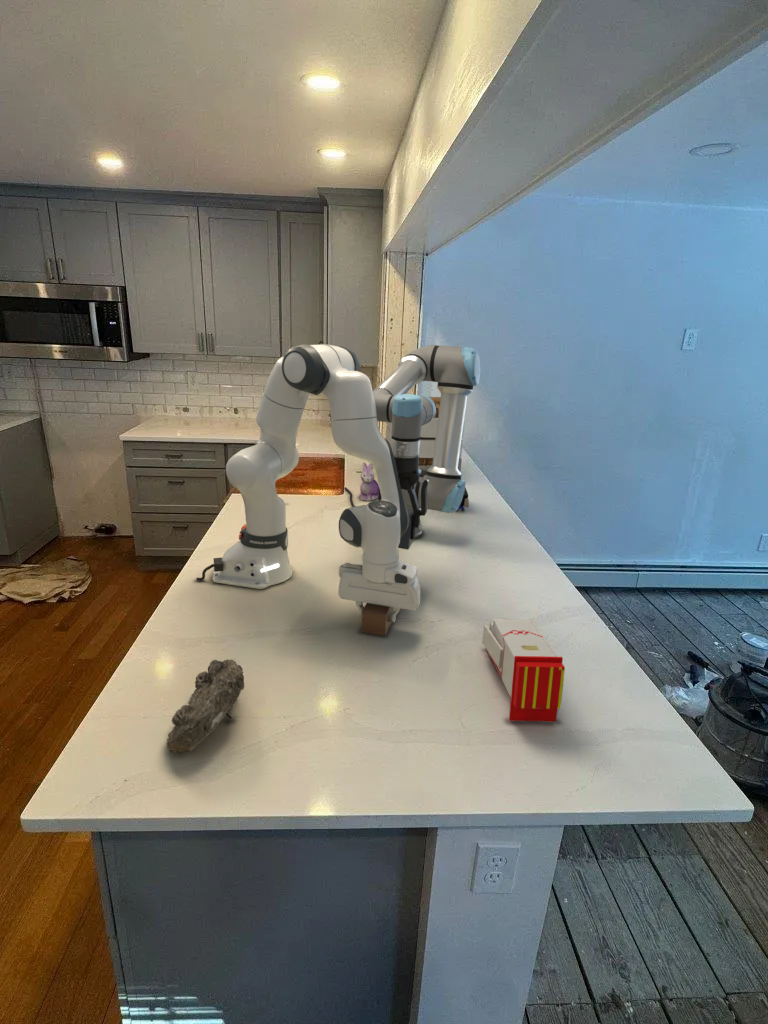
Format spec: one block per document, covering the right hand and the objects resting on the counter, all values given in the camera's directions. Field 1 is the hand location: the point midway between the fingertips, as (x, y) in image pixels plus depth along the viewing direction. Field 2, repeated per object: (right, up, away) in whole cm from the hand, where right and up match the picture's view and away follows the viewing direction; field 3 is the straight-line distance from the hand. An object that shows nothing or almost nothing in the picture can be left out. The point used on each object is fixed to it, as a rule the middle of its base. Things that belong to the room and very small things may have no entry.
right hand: (400, 535), depth 157 cm
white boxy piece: (+13, +25, +118) cm, 122 cm away
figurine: (-11, +12, +79) cm, 81 cm away
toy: (+24, -30, -33) cm, 51 cm away
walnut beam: (-4, -18, -5) cm, 19 cm away
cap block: (0, -2, +1) cm, 2 cm away
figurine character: (+25, +9, +73) cm, 78 cm away
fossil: (-37, -33, -48) cm, 69 cm away
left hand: (-6, -20, -16) cm, 26 cm away
